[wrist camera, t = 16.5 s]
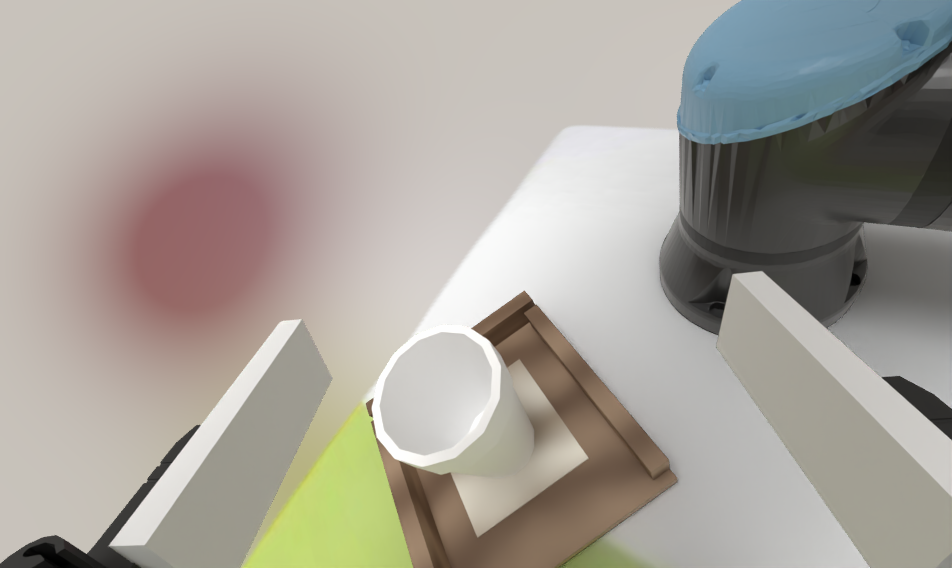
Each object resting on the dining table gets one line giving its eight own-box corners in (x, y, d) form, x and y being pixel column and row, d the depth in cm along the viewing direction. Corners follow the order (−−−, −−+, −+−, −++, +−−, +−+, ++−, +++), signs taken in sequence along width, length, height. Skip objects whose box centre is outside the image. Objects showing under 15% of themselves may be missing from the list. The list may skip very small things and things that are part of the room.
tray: (677, 481, 29) (677, 469, 26) (463, 636, 29) (435, 644, 26) (536, 312, 43) (524, 290, 39) (389, 416, 43) (365, 403, 39)
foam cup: (561, 397, 35) (516, 330, 25) (541, 512, 30) (478, 483, 21) (469, 383, 39) (402, 321, 30) (440, 481, 35) (350, 445, 25)
